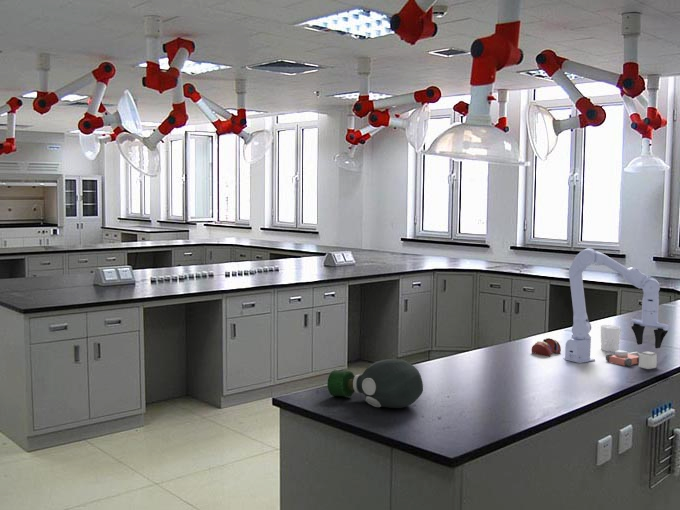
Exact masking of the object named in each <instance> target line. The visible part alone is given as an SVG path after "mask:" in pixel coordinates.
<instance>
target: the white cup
mask: <svg viewBox="0 0 680 510" xmlns="http://www.w3.org/2000/svg"><path fill="white" fill-rule="evenodd" d="M621 328H622V327H621V326H619V325H614V324H613V325H612V324H603V325H600V343H601V344H600V347H601V350H602V351H604V352H609V351H611V352H612V353H613V351H614V353H616V352H615V351H617V350H620V349H619V348H620V342H621V341H620V339H621V330H622V329H621Z"/></svg>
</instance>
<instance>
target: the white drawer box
mask: <svg viewBox="0 0 680 510" xmlns="http://www.w3.org/2000/svg"><path fill="white" fill-rule="evenodd" d="M657 356H658V355H657V354H656V352H652V351H642V352H641V353H640V354H639V363H638V367H639V368H641V369H645V370H651V369H656V368H657V360H658V357H657Z"/></svg>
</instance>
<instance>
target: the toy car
mask: <svg viewBox="0 0 680 510" xmlns="http://www.w3.org/2000/svg"><path fill="white" fill-rule="evenodd" d="M639 354H641V353H639V352H638V351H633V352H628V351H626V350H620V349H619V350H617V351H616V352H614V355H613V354H612V353H606V355H605V360H606V362H609V363H612V364H614V365H615V364H616V365H619V366H624V367H630V366H632V365H636V364H638V365H639Z"/></svg>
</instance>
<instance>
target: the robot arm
mask: <svg viewBox="0 0 680 510" xmlns="http://www.w3.org/2000/svg"><path fill="white" fill-rule="evenodd" d="M574 257H575V258H574V259H573V261H572V263H571V264H570V266H569V268H568V275H569V284H570V292H571V295H570V296H571V301H572V312H573V313H572V314H573V316H572V317H573V320H572V321H573V324H572V327H571V333H572V334H571V337H570V338H569V339H568V340H566V342H565V349H564V350H565V352H564V357H563V359H562V360H565V361H569V362H570V361H571V362H573V363H577V364H581V363H588V362H594V361H596V359H595V358H592V357H591V347H592V346H591V345H592V344H591V343H592V336H590V332H591V330H592V324H591V322H590V321H589V317H588V313H587V306H586V298H585V290H584V289H585V288H584V281H583V272H584V271H585V270H586V269H587V268H588V267H590V266H592V265H593V264H595V266H604V267H607V268H609V269H610V270H612V271H615V272H616V273H618V274H620V275H621V276H622V277H623V280H624V281H625V282H627V283H628V284H630V285H631V286H634V287H635V288H638V289H642V292H643V295H642V296H643V297H642V301H641V319H635V318H632V319H630V325H632V326H630V327H631V329H632V332H633V333H634V337H635V340H636V345H638V346H639V345H643V341H644V339H643V338H644V333H645V332H644V331H645V328H652V329H653V333H654V348H655V349H661V345H662V344H663V341H664V338H665V336H666V335H667V334H668V331H669V329H670V325H669V324H666V323H661V322H659V306H660V292H659V291H660V290H661V288H660V286H661V285H660V283H659V281H658V280H657V279H656V278H655V277H652V276H651V275H647V274H645V273H643V272H642V271H640V269H639V268H638V267H633V266H631V267H626V266H625V265H623V264H621V263H620V262H619V261H616V260H615V259H613V258H611V257H609V256H608V255H606V254H604V253H603V252H600V251H598V250H597V251H596V250H595V249H594V248H592V247H588V248H585V249H583V250H581V251H579V253H577V254H576V255H575V256H574Z"/></svg>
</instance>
